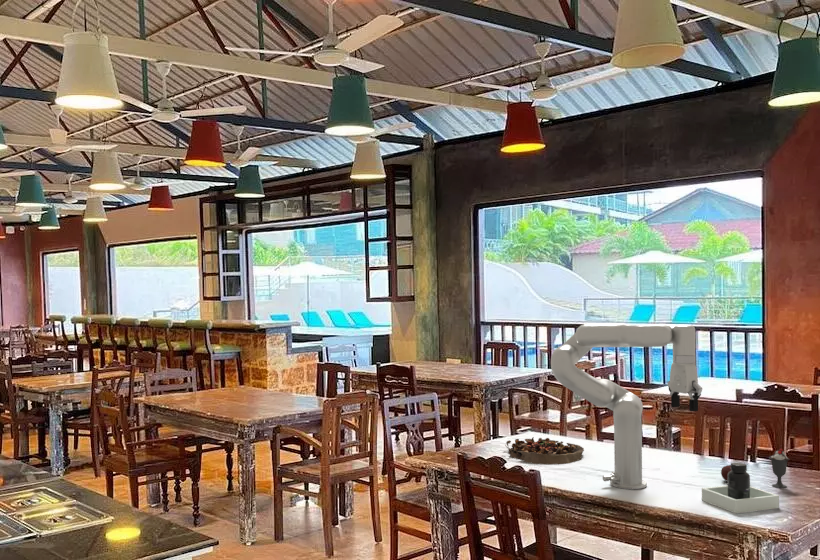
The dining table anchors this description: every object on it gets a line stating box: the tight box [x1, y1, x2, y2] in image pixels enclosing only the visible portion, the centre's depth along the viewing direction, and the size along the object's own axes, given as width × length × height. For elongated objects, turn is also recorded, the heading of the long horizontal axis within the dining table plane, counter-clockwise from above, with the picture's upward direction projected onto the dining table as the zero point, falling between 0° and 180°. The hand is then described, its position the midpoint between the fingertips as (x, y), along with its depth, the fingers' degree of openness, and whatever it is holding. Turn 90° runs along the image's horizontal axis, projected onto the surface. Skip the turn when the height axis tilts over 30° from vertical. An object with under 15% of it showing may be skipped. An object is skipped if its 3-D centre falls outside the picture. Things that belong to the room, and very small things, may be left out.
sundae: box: [768, 445, 790, 489], centre depth 280 cm, size 7×7×15 cm
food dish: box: [504, 436, 585, 465], centre depth 333 cm, size 35×33×8 cm
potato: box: [720, 464, 732, 483], centre depth 286 cm, size 7×10×6 cm
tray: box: [701, 484, 780, 514], centre depth 258 cm, size 17×16×4 cm
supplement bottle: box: [727, 462, 751, 500], centre depth 258 cm, size 7×7×12 cm
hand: (684, 408), depth 276 cm, fingers open, 9 cm apart
